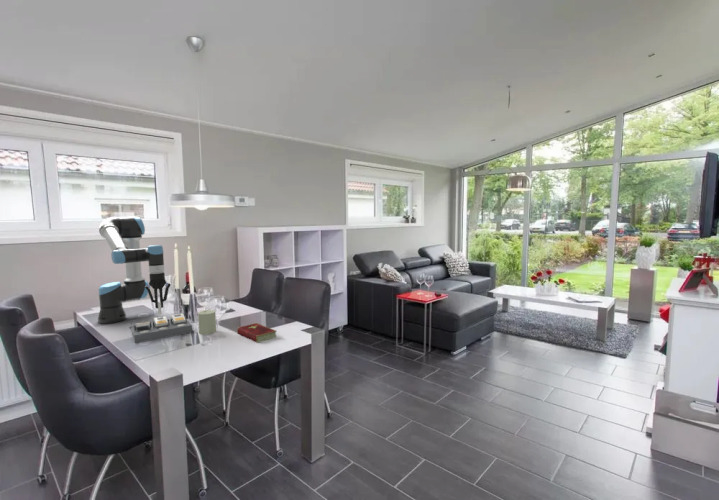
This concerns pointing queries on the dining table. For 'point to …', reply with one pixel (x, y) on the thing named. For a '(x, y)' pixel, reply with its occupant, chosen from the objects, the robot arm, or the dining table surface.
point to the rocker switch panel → (160, 330)
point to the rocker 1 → (143, 324)
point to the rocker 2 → (178, 318)
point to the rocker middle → (160, 321)
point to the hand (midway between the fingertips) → (159, 313)
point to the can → (207, 322)
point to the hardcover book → (256, 332)
